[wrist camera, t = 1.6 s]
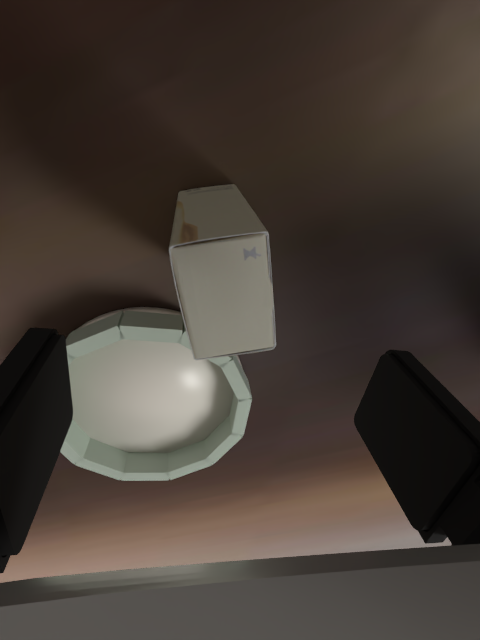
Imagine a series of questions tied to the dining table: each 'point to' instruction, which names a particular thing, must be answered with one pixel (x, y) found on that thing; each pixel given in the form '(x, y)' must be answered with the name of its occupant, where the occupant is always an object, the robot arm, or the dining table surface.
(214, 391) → the round tray
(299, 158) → the dining table surface
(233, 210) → the skincare box
